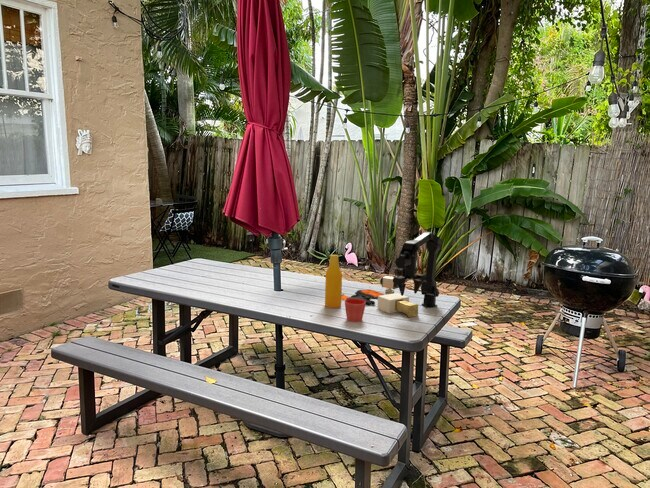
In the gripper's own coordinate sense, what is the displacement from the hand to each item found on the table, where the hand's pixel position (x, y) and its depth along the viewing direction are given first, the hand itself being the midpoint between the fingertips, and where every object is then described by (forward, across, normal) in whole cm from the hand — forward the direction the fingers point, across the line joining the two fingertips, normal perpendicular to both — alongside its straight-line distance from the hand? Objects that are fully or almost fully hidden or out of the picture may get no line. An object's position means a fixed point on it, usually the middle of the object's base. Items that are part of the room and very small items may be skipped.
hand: (408, 294), depth 247 cm
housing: (+11, 0, -12) cm, 16 cm away
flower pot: (+11, +30, -7) cm, 33 cm away
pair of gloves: (+12, 0, -37) cm, 39 cm away
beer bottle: (+11, +26, -33) cm, 43 cm away
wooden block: (+11, 0, -4) cm, 12 cm away
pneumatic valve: (+11, -19, -37) cm, 43 cm away
